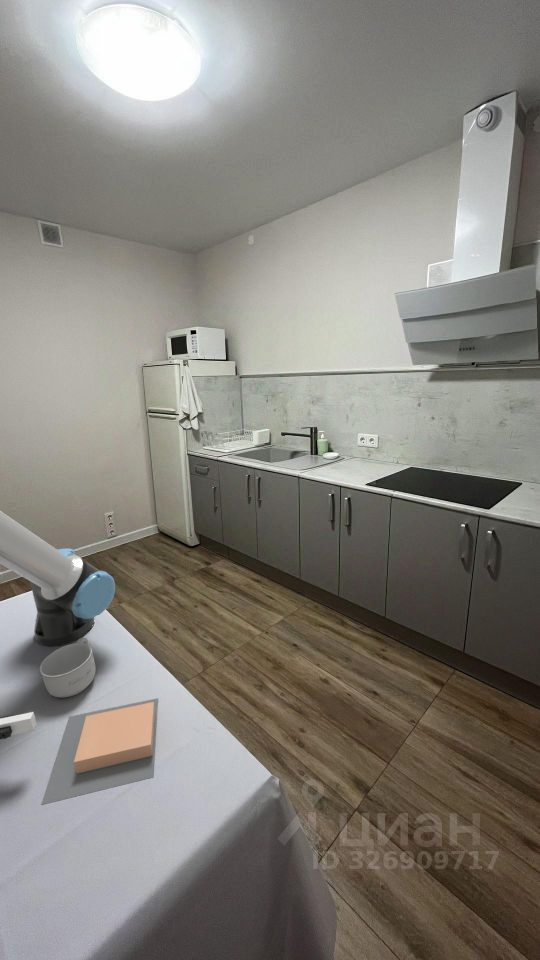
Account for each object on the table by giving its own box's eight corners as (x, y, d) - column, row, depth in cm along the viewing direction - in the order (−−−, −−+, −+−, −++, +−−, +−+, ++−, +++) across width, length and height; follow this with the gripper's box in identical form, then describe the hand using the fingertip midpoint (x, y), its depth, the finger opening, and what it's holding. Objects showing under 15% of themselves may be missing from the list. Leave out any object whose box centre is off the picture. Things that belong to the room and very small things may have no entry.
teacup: (77, 708, 85) (71, 677, 83) (34, 702, 88) (27, 672, 86) (114, 663, 99) (109, 635, 96) (76, 658, 101) (70, 631, 99)
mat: (69, 718, 83) (69, 716, 83) (158, 700, 86) (158, 698, 86) (41, 807, 66) (41, 804, 66) (154, 779, 69) (153, 777, 69)
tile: (86, 716, 79) (153, 701, 82) (88, 727, 80) (155, 713, 82) (73, 762, 70) (150, 744, 72) (76, 774, 70) (152, 756, 73)
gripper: (-90, 737, 74) (48, 709, 79) (-142, 810, 62) (25, 771, 66) (-102, 704, 72) (41, 677, 77) (-159, 772, 60) (15, 735, 64)
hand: (33, 721), depth 71 cm, fingers closed
